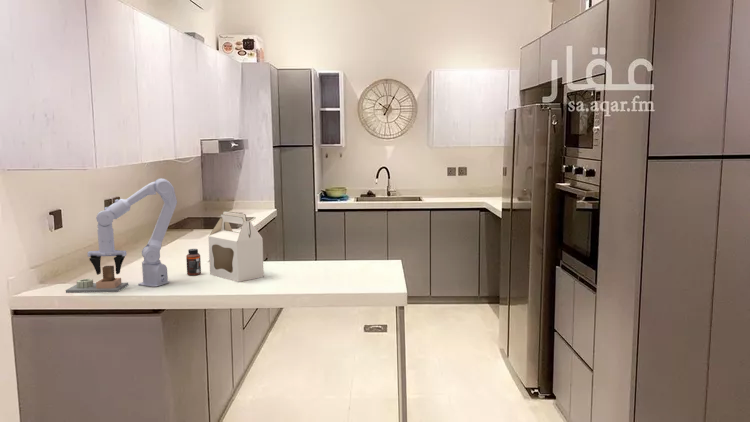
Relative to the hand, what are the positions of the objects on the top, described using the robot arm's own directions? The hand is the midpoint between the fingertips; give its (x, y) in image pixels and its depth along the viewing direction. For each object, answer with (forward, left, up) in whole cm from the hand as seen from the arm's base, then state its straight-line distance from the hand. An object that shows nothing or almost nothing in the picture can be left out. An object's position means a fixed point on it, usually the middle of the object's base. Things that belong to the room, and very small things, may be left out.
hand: (108, 273), depth 229 cm
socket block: (+4, +2, -6) cm, 8 cm away
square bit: (0, 0, -5) cm, 5 cm away
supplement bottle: (-16, -32, -6) cm, 36 cm away
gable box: (-35, -37, -6) cm, 51 cm away
